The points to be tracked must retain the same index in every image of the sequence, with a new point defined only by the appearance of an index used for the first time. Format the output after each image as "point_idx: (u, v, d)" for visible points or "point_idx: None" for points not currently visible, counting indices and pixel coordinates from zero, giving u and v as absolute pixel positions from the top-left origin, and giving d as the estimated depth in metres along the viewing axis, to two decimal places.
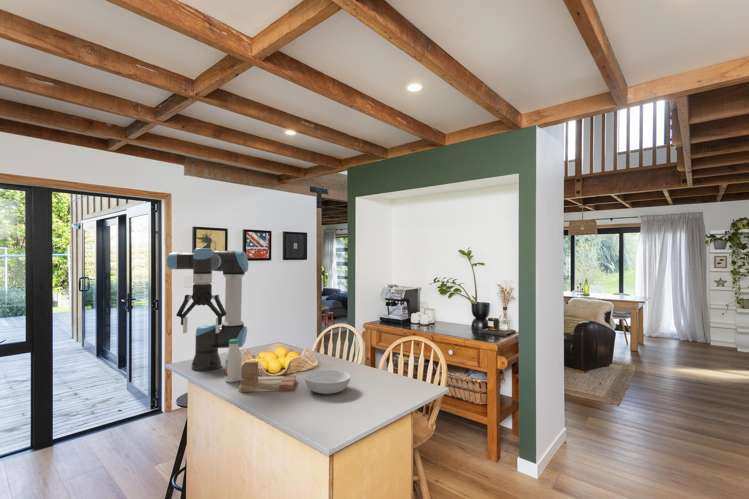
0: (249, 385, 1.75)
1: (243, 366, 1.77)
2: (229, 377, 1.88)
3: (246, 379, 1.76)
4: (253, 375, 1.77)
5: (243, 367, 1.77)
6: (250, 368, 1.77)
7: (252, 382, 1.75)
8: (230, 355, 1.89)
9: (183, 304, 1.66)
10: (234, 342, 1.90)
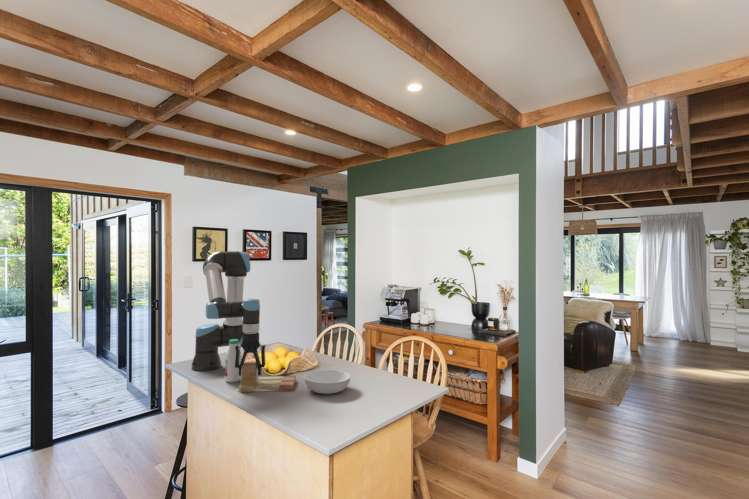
0: (249, 385, 1.75)
1: (243, 366, 1.77)
2: (229, 377, 1.88)
3: (246, 379, 1.76)
4: (253, 375, 1.77)
5: (243, 367, 1.77)
6: (250, 368, 1.77)
7: (252, 382, 1.75)
8: (230, 355, 1.89)
9: (237, 355, 1.78)
10: (234, 342, 1.90)
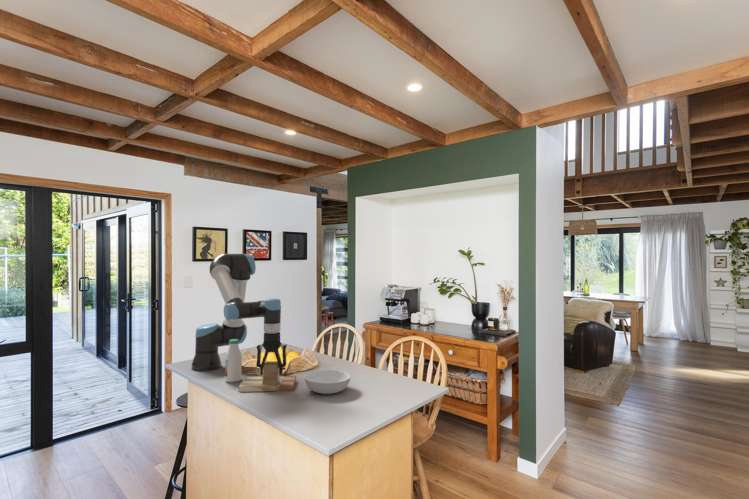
0: (271, 384, 1.75)
1: (265, 365, 1.78)
2: (229, 377, 1.88)
3: (268, 378, 1.76)
4: (275, 374, 1.78)
5: (265, 366, 1.78)
6: (272, 367, 1.78)
7: (274, 381, 1.76)
8: (230, 355, 1.89)
9: (258, 354, 1.79)
10: (234, 342, 1.90)
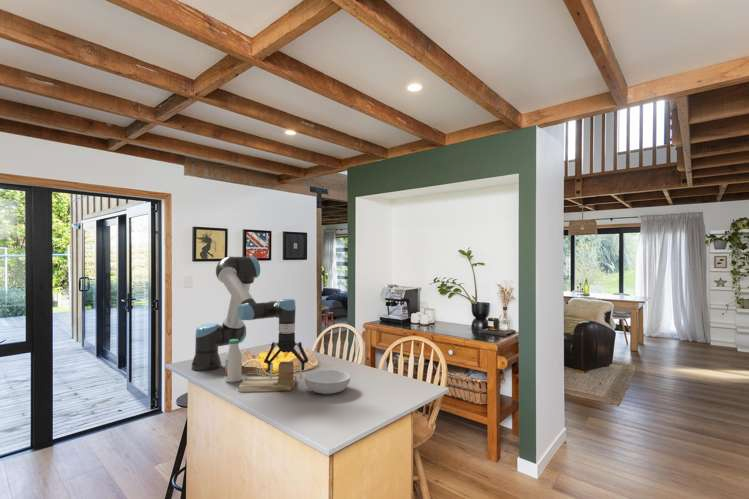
0: (286, 384, 1.76)
1: (280, 365, 1.78)
2: (229, 377, 1.88)
3: (283, 378, 1.77)
4: (289, 374, 1.79)
5: (280, 366, 1.78)
6: (287, 367, 1.79)
7: (289, 381, 1.76)
8: (230, 355, 1.89)
9: (270, 351, 1.80)
10: (234, 342, 1.90)
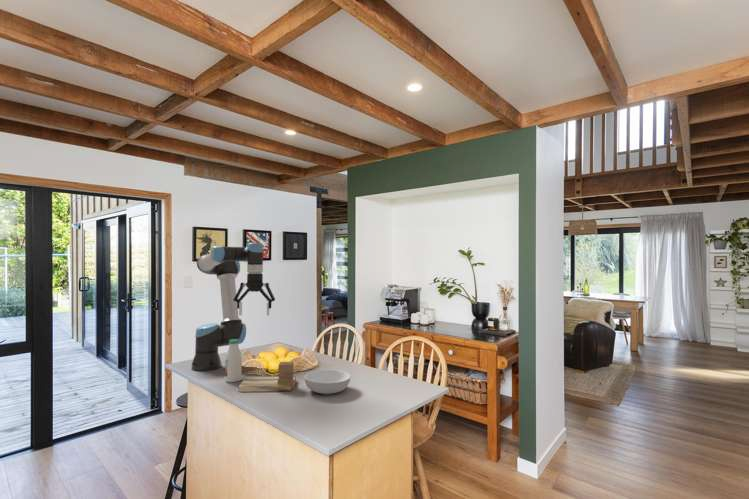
0: (286, 384, 1.76)
1: (280, 365, 1.78)
2: (229, 377, 1.88)
3: (283, 378, 1.77)
4: (289, 374, 1.79)
5: (280, 366, 1.78)
6: (287, 367, 1.79)
7: (289, 381, 1.76)
8: (230, 355, 1.89)
9: (239, 290, 1.95)
10: (234, 342, 1.90)
